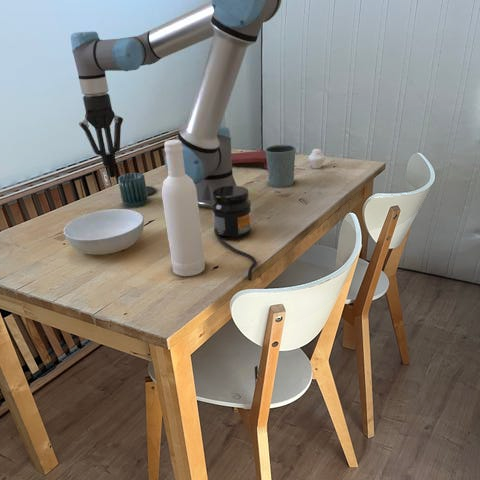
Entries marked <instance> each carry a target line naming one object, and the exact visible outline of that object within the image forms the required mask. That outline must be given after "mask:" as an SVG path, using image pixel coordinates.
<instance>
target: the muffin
mask: <svg viewBox="0 0 480 480" xmlns="http://www.w3.org/2000/svg"><path fill="white" fill-rule="evenodd" d="M325 160H326V156H325V155H324V154H323V151H322V149H320V148H314V149H313V150H312V151H311V153H310V155H309V156H308V162H309V164H310V166H311V169H315V170H316V169H317V170H318V169H321V168H322V166H323V164H324V162H325Z"/></svg>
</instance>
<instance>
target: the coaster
mask: <svg viewBox="0 0 480 480" xmlns="http://www.w3.org/2000/svg"><path fill="white" fill-rule="evenodd" d="M146 190H147V197H150V196H153V195H154V194H155V193H156V192H157V190H156V188H155V187H153V186H148V185H146Z"/></svg>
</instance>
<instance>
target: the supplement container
mask: <svg viewBox="0 0 480 480" xmlns="http://www.w3.org/2000/svg"><path fill="white" fill-rule="evenodd" d="M249 193H250V192H249V189H248V188H246V187H244V186H241V185H236V186H225V187H221V188H218V189H216V190H214V191H213V200H214V202H213V203H212V209H211V210H212V218H213V230H214V231H213V233H214V234H215V236H216V237H218V236H220V237H221V239H222V240H226V241H227V240H228V241H234V240H235V241H236V240H241V239H244V238H246V237H248V236H249V235H250V234H251V233H252V231H253V227H252V208H251V207H252V203H251V200H250V199H249V198H250V197H249Z"/></svg>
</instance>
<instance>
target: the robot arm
mask: <svg viewBox="0 0 480 480" xmlns="http://www.w3.org/2000/svg"><path fill="white" fill-rule="evenodd" d="M281 5H282V0H210V1H208V2H205V4H202V5H200V6H198V7H196V8H194V9H192V10H190V11H187V12H186V13H183V14H181V15H179V16H177V17H175V18H173V19H170V20H168V21H166V22H165V23H162V24H160V25H158V26H156V27H154V28H152V29H149V30H147V31H146V32H143V33H142V34H139V35H133V36H127V37H120V38H110V39H109V38H107V39H100V37H99V33H98V32H97V31H91V30H90V31H78V32H73V33H72V34H70V43H71V49H72V50H71V52H72V54H73V59H74V63H75V66H76V70H77V75H78V81H79V85H80V90H81V94H82V95H83V97H82V101H83V104H84V110H85V115H84V119H83V120H82V121H79V123H78V125H79V127H80V128H81V129H82V130H83V131H84V134H85V136H86V139H87V140H88V142H89V144H90V146H91V149H92V150H93V151H92V152H94V154H95V155H97V156H101V161H102V165H103V166H104V167H105V168H106V169H107V175H108V176H109V177H110V178H116V176H117V175H116V172H115V167H114V166H116V165H117V160H116V154H117V153H118V152H121V131H122V124H123V122H124V118H123V117H122V116H119V115H117V114H116V113H115V112H114V110H113V107H112V102H111V97H110V94H109V93H108V92H109V86H108V80H107V77H106V75H107V74H106V72H107V71H108V72H109V71H113V72H115V71H118V72H121V71H122V72H130V71H137V70H138V69H140V67H142V66H150V65H153V64H156V63H157V62H159V61H160V60H161V59H163V58H166V57H168V56H170V55H171V56H172V55H173V54H175V53H178V52H179V51H182V50H185V49H187V48H189V47H191V46H194V45H196V44H198V43H201V42H203V41H206V40H208V39H210V38H212V39H211V43H210V46H209V49H208V52H207V56H206V59H205V63H204V66H203V70H202V72H201V76H200V79H199V83H198V86H197V89H196V93H195V96H194V99H193V102H192V106H191V109H190V113H189V116H188V119H187V124H185V125H182V126H181V127H180V128H179V131H178V133H177V136H176V137H177V140H180V141H181V143H182V146H183V160H184V168H185V174H186V175H187V176H189V177H190V178H191V179H192V180H193V182H194V184H195V186H196V190H197V200H198V208H201V209H208V210H209V209H211V210H213V209H212V203H213V202H214V200H213V191H214V190H216V189H218V188H221V187H225V186H237V183H236V180H235V178H234V174H233V163H232V155H231V153H232V137H231V133H230V132H231V131H230V129H229V128H228V127H227V126H224V125H221V124H222V122H223V118H224V117H225V113H226V111H227V108H228V104H229V102H230V99H231V96H232V93H233V90H234V87H235V85H236V81H237V79H238V75H239V73H240V70H241V68H242V64H243V61H244V58H245V56H246V54H247V53H246V52H247V50H248V47H250V46H252V45H254V44H256V43H257V40H258V38H259V35H260V32H261V29H262V26H263V24H264V23H267V22H268V21H270V20H272V19H273V18H274V17H275V15H276V14H277V13H278V11H279V9H280V7H281ZM113 122H114V129H113V130H114V131H113V138H112V131H111V125H112V123H113ZM90 126H92V127H93V128H94V131H95V134H96V138H97V143H96V140H95V138H94V136H93V134H92V132H91V130H90ZM103 131H104V135H103ZM104 136H105V139H104ZM105 141H106V146H107V151H108V153H107V151H106V146H105ZM97 144H98V145H97ZM164 165H165V168H166V171H168V167H167V159H166V155H165V156H164ZM217 239H218V241H219V242H220V243H221V244H222V245H223V246H225V247H226V248H228V249H229V250H231V251H232V252H234V253H237V254H240V255H242V256H244V257H246V258H249V259H250V260H251V261H252V264H251V265H250V267H249V268H248V271H247V281H249V282H251V281H252V272H253V269H254V268H255V267H256V266H257V260H256V258H255V256H253V255H251V254H249V253H247V252H245V251H242V250H240V249H237V248H236V247H233V246H232V245H230V244H229V243H227V242H225V241H224V239H222V238H221V237H220V236H217ZM258 369H259V368H258V365H256V366H254V378H255V379H254V382H255V385H256V379H257V374H258V375H259V370H258Z"/></svg>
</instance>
